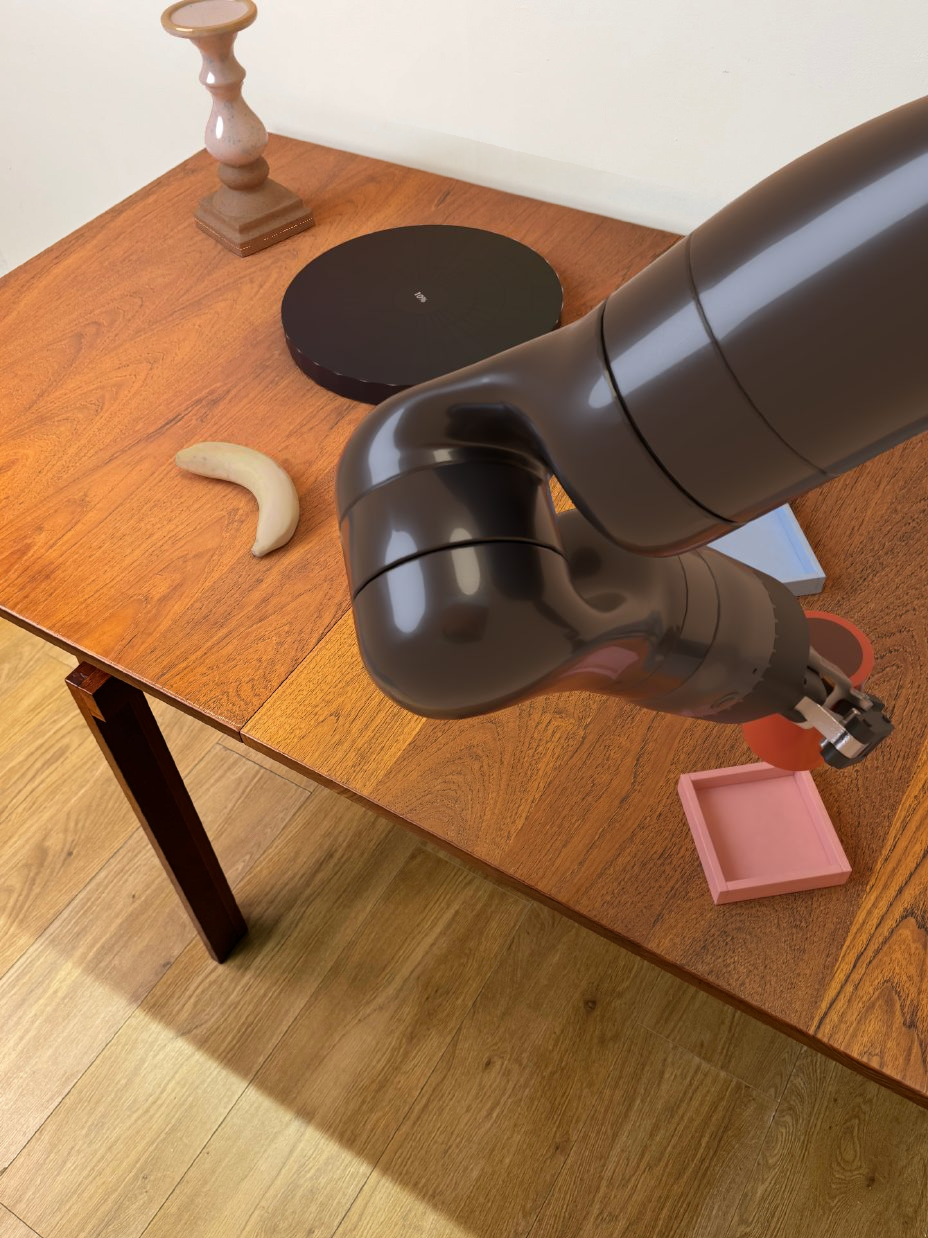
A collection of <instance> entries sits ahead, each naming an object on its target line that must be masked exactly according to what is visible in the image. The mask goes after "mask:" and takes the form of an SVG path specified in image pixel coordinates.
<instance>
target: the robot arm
mask: <svg viewBox="0 0 928 1238" xmlns="http://www.w3.org/2000/svg"><path fill="white" fill-rule="evenodd" d="M926 431H928V94H926V95H923V96H921V97H919V98H916V99H914V100H911V101H909V102H906V103H905V104H902V105H899V106H897V107H895V108H893V109H891V110H888V111H887V112H884V113H881V114H880V115H878V116H876V117H873V118H871V119H869V120H866V121H865V122H862V123H861V124H858V125H857V126H854V127H853V128H850V129H848V130H846V131H845V132H842V133H840V134H838V135H836V136H835V137H832V138H831V139H829V140H827V141H825V142H823V143H822V144H820V145H818V146H816V147H815V148H813V149H811V150H808V152H806V153H804V154H802V155H801V156H799V157H797V158H795V159H793V160H792V161H790V162H789V163H787V164H785V165H784V166H782V167H780V168H779V169H778V170H776V171H774V172H773V173H771V174H769V175H768V176H766V177H764V178H763V179H761V180H760V181H759V182H757V183H755V185H753V186H752V187H750V188H749V189H747V190H746V191H744V192H743V193H742V194H740V195H739V196H738V197H735V198H734V199H733V200H732V201H730V202H728V203H727V204H726V205H725V206H723V207H722V208H721V209H719V210H718V211H716V213H714V214H713V215H712V216H710V217H708V219H706V220H705V221H703V222H702V223H700V224H699V225H698V226H697V227H696V228H695V229H693V230H692V231H691V232H690V233H689V234H687V235H686V236H685V237H683V238H682V239H681V240H679V241H678V242H677V243H675V244H674V245H672V246H671V247H670V248H669V249H668V250H666V251H665V252H664V253H662V254H661V255H660V256H658V257H657V258H656V259H654V260H653V261H652V262H651V263H649V264H648V265H647V266H646V267H644V268H643V269H642V270H640V271H639V272H638V273H636V274H635V275H634V276H633V277H631V278H629V280H628V281H626V282H625V283H623V284H622V285H621V286H620V287H618V288H617V289H616V290H615V291H614V292H612V293H611V294H609V295H608V296H606V297H605V298H604V299H602V300H601V301H600V302H599V303H598V304H596V305H595V306H594V307H593V308H592V309H590V310H589V311H588V312H587V313H586V314H584V315H583V316H582V317H580V318H578V319H576V320H574V321H572V322H570V323H568V324H567V325H564V326H561V328H559V329H557V330H555V331H552V332H550V333H547V334H545V335H542V336H540V337H537V338H535V339H532V340H530V341H527V342H525V343H522V344H520V345H518V346H515V347H513V348H510V349H508V350H506V351H503V352H501V353H499V354H496V355H494V356H491V357H489V358H487V359H484V360H482V361H479V362H477V363H475V364H472V365H469V366H467V367H464V368H462V369H459V370H457V371H454V372H451V373H449V374H446V375H443V376H440V377H437V378H435V379H432V380H429V381H426V382H423V383H421V384H418V385H415V386H413V387H410V388H408V389H405V390H403V391H401V392H399V393H397V394H395V395H393V396H391V397H389V398H387V399H386V400H384V401H383V402H381V403H380V404H378V405H374V407H373V408H372V409H371V410H369V412H368V413H366V414H365V416H364V417H362V419H361V420H360V421H359V423H358V424H357V425H356V427H354V429H353V431H352V432H351V433H350V436H349V437H348V438H347V440H346V442H345V444H344V446H343V448H342V450H341V452H340V455H339V457H338V459H337V463H336V466H335V470H334V476H333V499H334V501H333V502H334V507H335V513H336V521H337V525H338V531H339V537H340V544H341V551H342V554H343V555H342V556H343V561H344V567H345V574H346V580H347V584H348V585H347V586H348V591H349V597H350V602H351V603H350V604H351V609H352V610H351V611H352V619H353V625H354V632H355V637H356V643H357V647H358V652H359V656H360V657H359V658H360V659H361V663H362V665H363V667H364V671H365V672H366V674H367V676H368V678H369V679H370V681H371V682H372V683H373V685H374V686H375V687H376V688H377V690H378V691H379V692H380V693H382V695H384V696H385V697H386V698H387V699H388V700H390V701H391V702H392V703H393V704H394V705H396V706H397V707H399V708H400V709H402V710H404V711H406V712H408V713H411V714H413V715H415V716H417V717H421V718H425V719H428V720H434V721H461V720H467V719H473V718H477V717H482V716H486V715H489V714H493V713H497V712H500V711H503V710H506V709H509V708H512V707H515V706H518V705H520V704H524V703H526V702H529V701H531V700H534V699H537V698H540V697H541V698H542V697H544V696H548V695H555V694H561V693H570V692H571V693H572V692H585V693H591V694H595V695H600V696H606V697H611V698H616V699H621V700H624V701H626V702H628V703H630V704H632V705H634V706H637V707H639V708H643V709H646V710H649V711H653V712H658V713H663V714H669V715H675V716H678V717H679V716H680V717H684V718H690V719H695V720H700V721H706V722H711V723H716V724H722V725H739V724H740V725H741V724H742V723H746V722H751V721H754V720H758V719H761V718H764V717H767V716H770V715H773V714H776V713H777V714H778V715H780V716H782V717H784V718H785V719H787V720H789V721H791V722H793V723H794V724H796V725H798V726H800V727H801V728H803V729H810V728H813V727H815V728H816V729H817V730H818V731H819V732H820V733H822V734H823V735H824V736H825V737H824V738H823V739H822V740H821V741H820V742H819V746H820V747H821V748H823V749H822V750H821V751H820V754H821V755H822V757H823V758H824V761H825V762H826V763H825V764H827V765H828V766H829V767H831V768H832V767H833V768H835V769H836V770H839V771H840V770H844V769H846V768H849V767H852V766H854V765H857V764H861V763H862V762H863V761H864V760H865V759H866V758H867V757H868V756H869V755H870V754H871V753H872V752H873V751H875V749H877V747H879V746H880V744H881V743H882V742H883V741H884V740H885V739H886V738H888V736H889V735H890V734H891V733H893V731H895V729H896V727H895V725H893V723H892V719H890V718H889V717H888V716H887V715H886V714H885V713H883V710H885V708H886V704H885V703H884V702H883V701H882V700H881V699H880V698H879V697H878V696H877V695H876V694H872V693H869V692H866V691H859V690H856V689H855V688H853V687H852V682H851V680H850V679H849V678H848V677H847V676H846V675H845V674H844V673H843V672H842V671H841V669H840V668H839V667H838V666H836V665H834V664H833V663H831V662H830V661H828V660H826V659H825V658H823V657H822V656H820V655H819V654H818V653H817V652H816V651H815V650H814V648H813V647H812V646H811V645H810V633H809V627H808V622H807V619H806V616H805V613H804V611H805V610H804V608H803V606H802V604H801V603H800V602H799V600H798V599H797V596H794V594H793V593H792V592H791V591H790V590H789V589H788V588H787V587H786V586H785V585H784V584H783V583H781V582H780V581H779V580H777V579H776V578H774V577H772V576H770V575H768V574H766V573H764V572H762V571H760V570H758V569H756V568H754V567H751V566H749V565H747V564H745V563H743V562H741V561H739V560H737V559H735V558H732V557H730V556H728V555H726V554H724V553H722V552H720V551H718V550H716V549H714V548H711V547H709V546H707V544H710V543H712V542H714V541H716V540H718V539H720V538H722V537H724V536H726V535H728V534H730V533H732V532H733V531H735V530H737V529H739V528H741V527H743V526H745V525H746V524H748V523H749V522H751V521H754V520H756V519H758V518H760V517H762V516H764V515H766V514H768V513H770V512H772V511H774V510H776V509H778V508H779V507H781V506H783V505H785V504H787V503H788V504H789V503H791V502H793V501H795V500H797V499H799V498H801V497H802V496H804V495H806V494H808V493H810V492H812V491H814V490H817V489H818V488H820V487H822V486H824V485H826V484H828V483H829V482H832V481H834V480H835V479H837V478H839V477H841V476H843V475H845V474H847V473H848V472H851V471H853V470H854V469H856V468H858V467H860V466H861V465H864V464H865V463H868V462H869V461H871V460H873V459H874V458H877V457H878V456H880V455H882V454H884V453H886V452H888V451H890V450H891V449H894V448H896V447H898V446H900V445H901V444H903V443H905V442H907V441H909V440H911V439H913V438H914V437H916V436H918V435H921V434H922V433H924V432H926ZM553 477H554V478H555V479H556V481H557V482H558V483H559V485H560V487H561V488H562V489H563V491H564V493H565V495H566V496H567V497H568V498H569V500H570V502H571V503H572V505H573V506H574V507H575V508H570V509H566V510H564V511H561V512H558V513H557V511H556V508H555V504H554V499H553V496H552V492H551V487H550V486H551V485H550V483H549V482H550V480H551V479H552V478H553ZM819 673H820V674H822V675H823V676H822V677H820V675H819ZM841 699H844V700H843V701H842V702H841V703H840V704H839V705H838V706H837V707H836V708H835V709H834V710H833V711H831V710H830V709H831V708H832V707H833V706H834V705H835V704H836V703H837V702H838V701H839V700H841Z"/></svg>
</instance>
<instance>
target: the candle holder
mask: <svg viewBox="0 0 928 1238" xmlns="http://www.w3.org/2000/svg"><path fill="white" fill-rule="evenodd" d="M258 15H259V12H258V6H257V4H256V3H255V2H254V1H253V0H180V1H177V2H176V3H173V4H171V5H170V6H168V7H167V8H165V9H164V11H163V12H162V13H161V15H160V24H161V27H162V29H163V30H164V31H165V32H166V33H167V34H169V35H170V36H173V37H176V38H179V39H185V40H186V39H187V40H189V41H190V43H191V44H192V45H194V46H195V47H196V48H197V50H198V51H199V53H200V55H201V59H202V64H201V65H202V66H201V70H200V71H199V74H198V80H199V82H200V84H201V85H203V86H204V87H205V89H206V91H207V92H209V94H210V96H211V99H212V103H211V110H210V114H209V117H208V119H207V123H206V124H205V125H206V126H205V128H204V129H205V130H204V136H203V137H204V139H203V140H204V145H205V149H206V151H207V152H208V154H209V155H210V156H211V157H212V158H213V159H215V160H216V161H217V162H219V163H218V166H217V169H216V171H217V172H216V173H217V177H218V180H219V181H220V182H221V184H222V185H221V186H220V187H219V188H218V189H217V190H216V191H214V192H211V193H208V194H206V195H204V196H203V197H201V198H200V199H199V200H198V201H197V202H198V205H199V207H198V208H197V209H195V210H194V211H192V214H193V218H194V217H195V218H196V219H197V220H199V222H201V223H203V225H205V226H206V227H208V228H209V229H211V230H212V231H214V232H215V233H216V234H218V235H219V236H220V237H219V236H218V235H216V234H215V233H213V232H212V231H210V230H209V229H208V228H206V227H205V226H203V225H202V224H200V223H199V222H198V221H196V220H195V218H194V221H195V226H196V227H197V228H198V229H199V230H200V231H202V232H203V233H205V234H206V235H208V236H209V237H210V238H212V239H213V240H215V241H216V242H217V243H219V244H220V245H222V246H223V247H224V248H226V249H227V250H229V251H231V252H232V253H234V254H235V255H237V256H239V257H241V258H244V257H247V256H250V255H252V254H255V253H257V252H260V251H262V250H263V249H266V248H268V247H271V246H272V245H274V244H277V243H279V242H282V241H283V240H286V239H288V238H290V237H293V236H294V235H297V234H299V233H301V232H303V231H305V230H308V229H309V228H311V227H314V226H315V224H316V223H315V217H314V213H313V210H312V209H311V208H310V207H309V206H307V205H306V204H304V201H303V199H302V198H301V197H300V196H299V195H298V194H296V193H295V192H293V191H292V190H290V189H289V188H287V187H286V186H284V185H283V184H281V183H279V182H277V181H276V180H274V179H273V178H270V177H269V175H270V165H269V163H268V161H267V159H265V157H264V156H262V155H263V154H264V153H265V152H266V150H267V148H268V146H269V145H268V144H269V134H268V133H269V132H268V130H267V128H266V126H265V124H264V122H263V121H262V120H261V118H260V117H259V116H258V115H257V113H256V112H255V111H254V110H253V109H252V108H251V106H250V105H249V104H248V103H247V101H246V100H245V98H244V97H243V93H242V92H243V91H242V90H243V86H244V80H245V79H246V77H247V71H246V69H245V67H244V66H242V65H241V63H240V62H239V61H238V60H237V57H236V55H235V50H234V49H235V48H234V47H235V42H236V40H237V38H238V35H239V32H243V30H246V29H248V28H249V27H251V26H252V25H253V24H254V23H255V22H256V21H257V18H258ZM311 218H312V219H311ZM309 219H310V220H309ZM307 220H308V221H307ZM305 221H306V222H305ZM303 222H304V223H303ZM300 223H301V224H300ZM295 225H297V226H295ZM294 226H295V227H294ZM291 227H293V228H291ZM289 228H290V229H289ZM286 229H288V230H286ZM284 230H286V231H284ZM283 231H284V232H283ZM280 232H281V233H280ZM276 234H277V235H276ZM274 235H275V236H274ZM272 236H273V237H272ZM222 238H223V239H222ZM267 238H268V239H267ZM224 239H225V240H226V241H228V242H229V243H230V244H229V243H228V242H226V241H225V240H224ZM264 239H266V240H264ZM231 244H232V245H234V246H235V247H234V246H232V245H231ZM249 246H250V247H249ZM236 247H237V248H239V249H237V248H236ZM246 247H248V248H246ZM243 248H245V249H243ZM240 249H242V250H240Z"/></svg>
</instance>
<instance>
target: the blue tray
mask: <svg viewBox="0 0 928 1238" xmlns="http://www.w3.org/2000/svg"><path fill="white" fill-rule="evenodd" d="M707 546H709V547H711V548H714V549H716V550H718V551H720V552H722V553H724V554H726V555H728V556H730V557H732V558H735V559H737V560H739V561H741V562H743V563H745V564H747V565H749V566H751V567H754V568H756V569H758V570H760V571H762V572H764V573H766V574H768V575H770V576H772V577H774V578H776V579H777V580H779V581H780V582H781V583H783V584H784V585H785V586H786V587H787V588H788V589H789V590H790V591H791V592H792V593H793V594H794V596H795V597H802V596H809V595H816V594H821V593H822V590H823V588H824V587H823V586H824V583H825V580H826V579H827V576H826V574H825V572H824V570H823V568H822V566H821V564H820V562H819V560H818V558H817V556H816V554H815V553H814V550H813V549H812V547H811V544H810V543H809V541H808V539H807V537H806V534H805V533H804V531H803V529H802V528H801V526H800V523H799V521H798V520H797V518H796V516H795V514H794V512H793V510H792V508H791V506H790V504H789V503H787V504H785V505H783V506H781V507H779V508H778V509H776V510H774V511H772V512H770V513H768V514H766V515H764V516H762V517H760V518H758V519H756V520H754V521H751V522H749V523H748V524H746V525H745V526H743V527H741V528H739V529H737V530H735V531H733V532H732V533H730V534H728V535H726V536H724V537H722V538H720V539H718V540H716V541H714V542H712V543H710V544H707Z"/></svg>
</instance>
